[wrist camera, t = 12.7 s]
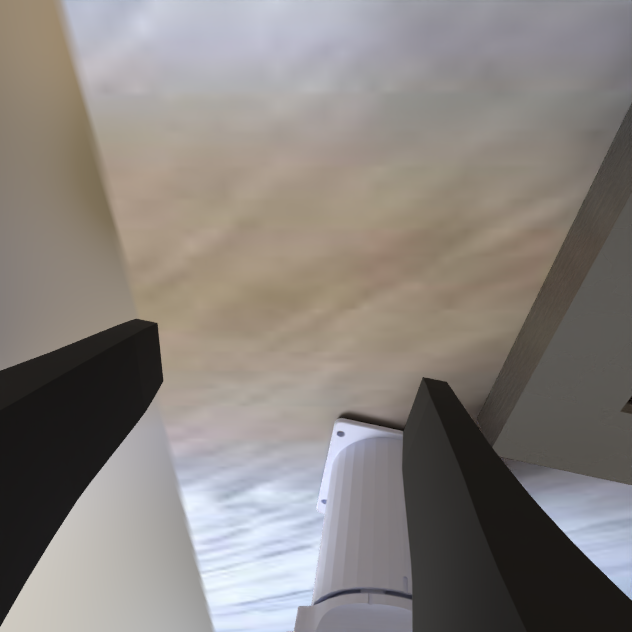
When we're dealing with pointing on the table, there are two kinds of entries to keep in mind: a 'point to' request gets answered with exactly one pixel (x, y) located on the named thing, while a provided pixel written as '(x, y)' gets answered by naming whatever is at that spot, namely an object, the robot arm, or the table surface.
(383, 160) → the table surface
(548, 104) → the table surface
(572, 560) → the robot arm
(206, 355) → the table surface
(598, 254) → the keyhole bracket
